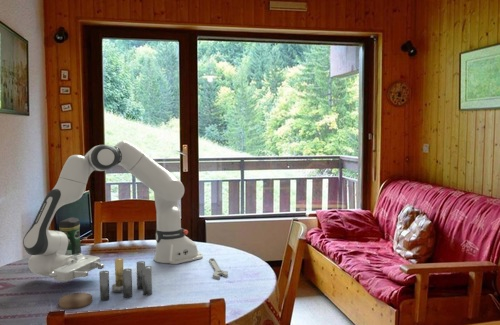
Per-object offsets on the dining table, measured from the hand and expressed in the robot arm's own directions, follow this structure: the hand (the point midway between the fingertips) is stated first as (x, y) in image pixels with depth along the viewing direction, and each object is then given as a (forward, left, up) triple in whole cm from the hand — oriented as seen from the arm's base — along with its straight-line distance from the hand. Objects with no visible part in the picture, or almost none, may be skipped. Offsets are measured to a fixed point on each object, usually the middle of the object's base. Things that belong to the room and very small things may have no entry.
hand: (95, 270), depth 168 cm
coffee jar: (+5, -47, -7) cm, 48 cm away
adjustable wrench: (-50, +2, -7) cm, 51 cm away
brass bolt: (-8, +8, -7) cm, 13 cm away
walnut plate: (+8, +13, -7) cm, 17 cm away
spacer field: (-10, +14, -7) cm, 18 cm away
